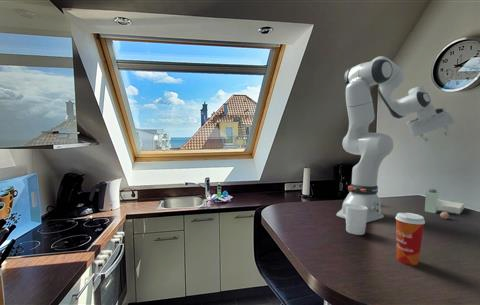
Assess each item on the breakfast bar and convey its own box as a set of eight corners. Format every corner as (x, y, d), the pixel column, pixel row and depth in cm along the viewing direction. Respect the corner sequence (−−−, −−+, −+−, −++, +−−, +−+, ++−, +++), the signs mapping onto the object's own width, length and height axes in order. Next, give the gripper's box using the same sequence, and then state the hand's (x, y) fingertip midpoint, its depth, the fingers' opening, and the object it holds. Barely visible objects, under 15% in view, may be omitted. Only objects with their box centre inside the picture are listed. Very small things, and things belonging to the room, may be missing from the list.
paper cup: (387, 255, 86) (389, 211, 85) (410, 255, 86) (413, 211, 85) (404, 267, 78) (407, 219, 77) (429, 267, 79) (432, 219, 78)
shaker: (435, 213, 135) (436, 190, 134) (424, 211, 138) (426, 189, 137) (437, 211, 138) (438, 189, 137) (426, 209, 141) (428, 188, 140)
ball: (448, 220, 124) (448, 213, 123) (439, 218, 126) (439, 211, 126) (449, 218, 126) (449, 212, 126) (440, 217, 128) (441, 210, 128)
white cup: (365, 230, 109) (366, 205, 108) (367, 236, 101) (369, 210, 100) (344, 227, 111) (345, 203, 110) (344, 233, 104) (346, 208, 103)
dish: (459, 214, 134) (460, 208, 133) (430, 209, 142) (431, 203, 142) (463, 209, 143) (464, 203, 143) (436, 204, 152) (436, 199, 152)
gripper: (405, 122, 153) (414, 145, 151) (448, 106, 141) (459, 131, 139) (406, 122, 158) (415, 144, 156) (448, 107, 146) (459, 131, 144)
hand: (436, 138), depth 148 cm, fingers open, 8 cm apart
